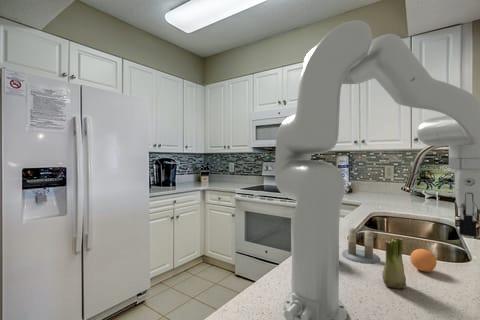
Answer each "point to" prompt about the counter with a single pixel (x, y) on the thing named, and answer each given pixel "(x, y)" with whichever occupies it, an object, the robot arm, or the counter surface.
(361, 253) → the light blue plate
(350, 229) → the back pin
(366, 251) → the front pin
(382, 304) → the counter surface
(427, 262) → the ball
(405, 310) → the counter surface
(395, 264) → the fennel bulb
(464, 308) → the counter surface
